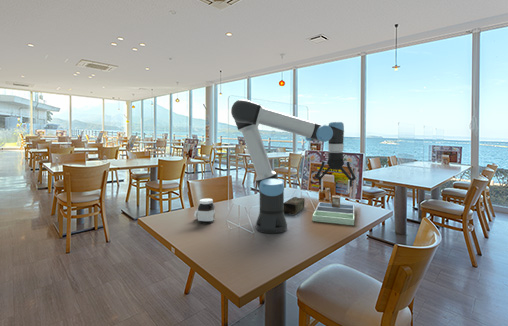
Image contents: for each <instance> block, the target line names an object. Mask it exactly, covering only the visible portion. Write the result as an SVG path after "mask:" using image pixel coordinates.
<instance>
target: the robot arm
mask: <svg viewBox="0 0 508 326" xmlns="http://www.w3.org/2000/svg"><path fill="white" fill-rule="evenodd" d="M230 113H231V117H232V119H234V122H235V125H236V129H237V130H238V132H241V134H242V137H243V139H244V142H245V145H246V148H247V151H248V153H249V156H250V159H251V162H252V165H253V168H254V171H255V173H256V176H255V182H256V183H255V184H256V185H257V189H258V191H259V212H258V216H257V219H256V222H255V229H256V230H257V231H258V232H260V233H263V234H264V233H265V234H281V233H285V232H286V231H287V230H288V223H287V220H286V216H285V213H284V202H285V197H284V195H285V193H284V192H285V185H284V182H283V180H280V179H279V177H278V175H277V174H278V173H277V172H276V171H274V170H273V169H272V166H271V163H270V159H269V156H268V153H267V150H266V147H265V145H264V142H263V139H262V136H261V132H260V130H259V125H263V126H266V127H269V128H274V129H276V130H280V131H284V132H287V133H292V134H294V135H298V136H302V137H305V141H307V142H309V141H310V142H313V141H314V142H323V143H326V142H328V146H327V147H328V149H327V150H328V153H327V155H328V156H327V157H328V158H327V161H326V160H322V161H321V166H320V168H319V170H318V171H317V173H316V175H315V178H316V179H317V180H318V185H319V186H320V192H323V191H324V177H325V175H326V174H327V173H328V172H329V171H330V170H332V171H334V170H336V171H339V170H340V171H341V173H343V175H345V177H346V178H347V179H348V180H347V194H350V188H352V186H353V181H355V180H356V179H357V177H356V175H355V173H354V171H353V169H352V167H351V163H350V161H344V136H345V134H344V133H345V129H344V128H345V126H344V122H342V121H332V122H328V124H320V123H317V122H314V121H310V120H308V119H307V120H306V119H303V118H299V117H296V116H293V115H289V114H286V113H282V112H280V111H276V110H272V109H268V108H265V107H263V105H262V104H259V103H256V102H253V101H251V100H249V99H245V98H241V99H237V100H236V101H235V102H234V103H233V104H232V106H231V112H230ZM326 165H328V168H326V170H325V171H324V172H323V173H322V171H323V169H324V167H325V166H326ZM344 165H345V167H346V168H347V169H348V171H349V173H350V175H349V173H348V172H347V170H345V168H344ZM321 173H322V174H321ZM320 174H321V175H320Z"/></svg>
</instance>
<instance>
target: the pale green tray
mask: <svg viewBox="0 0 508 326" xmlns="http://www.w3.org/2000/svg"><path fill="white" fill-rule="evenodd" d="M312 222H317V223H318V222H320V223H329V224H337V225H347V226H355V213H354V214H344V213H333V212H323V211H315V210H314V212H313V214H312Z"/></svg>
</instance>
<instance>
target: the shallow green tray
mask: <svg viewBox="0 0 508 326" xmlns="http://www.w3.org/2000/svg"><path fill="white" fill-rule="evenodd" d="M315 211H323V212H333V213H344V214H354V215H355V208H354V209H342V208H331V207H319V206H318V205H317V206H316V208H315V210H314V212H315Z"/></svg>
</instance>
